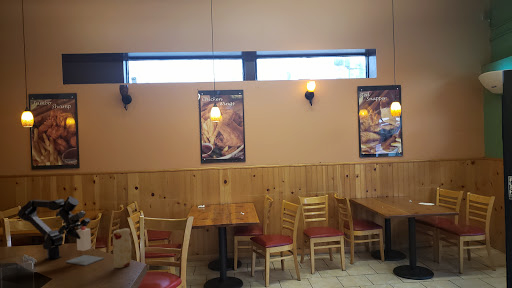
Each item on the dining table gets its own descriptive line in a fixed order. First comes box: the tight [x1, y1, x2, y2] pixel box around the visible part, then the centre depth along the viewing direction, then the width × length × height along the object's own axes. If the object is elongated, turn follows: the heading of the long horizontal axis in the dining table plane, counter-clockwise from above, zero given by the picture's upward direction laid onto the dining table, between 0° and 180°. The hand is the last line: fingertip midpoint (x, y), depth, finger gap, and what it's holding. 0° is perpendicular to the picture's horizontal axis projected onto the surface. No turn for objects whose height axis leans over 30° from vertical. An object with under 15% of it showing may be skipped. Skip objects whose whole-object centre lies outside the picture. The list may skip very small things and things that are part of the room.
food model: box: [112, 228, 132, 269], centre depth 195 cm, size 10×7×20 cm
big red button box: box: [75, 226, 92, 252], centre depth 208 cm, size 5×5×12 cm
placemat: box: [65, 254, 105, 267], centre depth 208 cm, size 16×12×1 cm
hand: (83, 237), depth 208 cm, fingers closed on big red button box, 5 cm apart
